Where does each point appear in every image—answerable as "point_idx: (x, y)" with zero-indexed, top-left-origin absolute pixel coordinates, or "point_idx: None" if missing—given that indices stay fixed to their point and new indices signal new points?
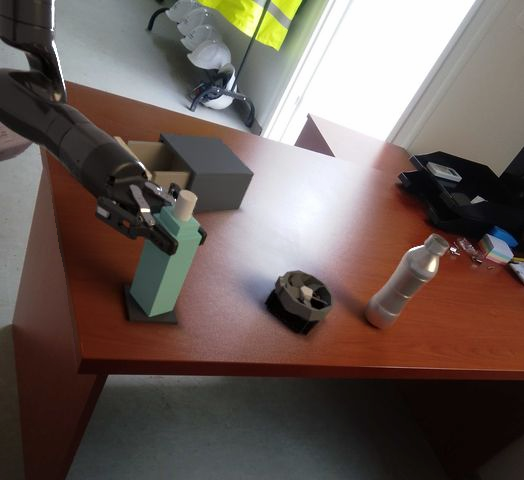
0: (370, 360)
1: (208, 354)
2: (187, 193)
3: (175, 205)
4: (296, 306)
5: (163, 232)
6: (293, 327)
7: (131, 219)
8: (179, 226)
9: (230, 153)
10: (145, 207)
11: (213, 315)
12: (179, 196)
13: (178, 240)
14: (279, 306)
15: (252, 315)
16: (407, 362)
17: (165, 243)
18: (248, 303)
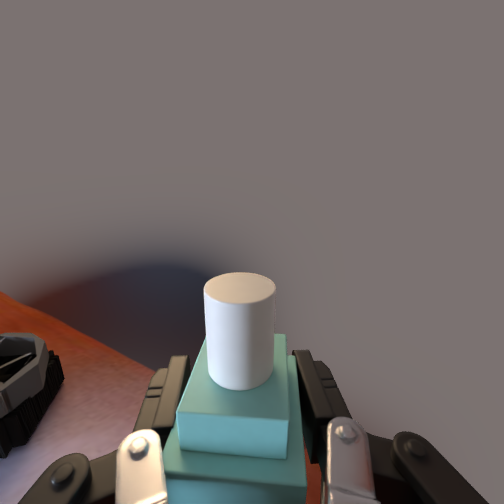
0: (46, 322)
1: None
2: (234, 291)
3: (269, 347)
4: (41, 364)
5: (321, 381)
6: (57, 385)
7: (438, 462)
8: (285, 336)
9: None
10: (352, 499)
11: None
12: (273, 301)
13: (287, 355)
14: (29, 407)
15: (67, 448)
16: (17, 305)
17: (327, 367)
18: (27, 480)
